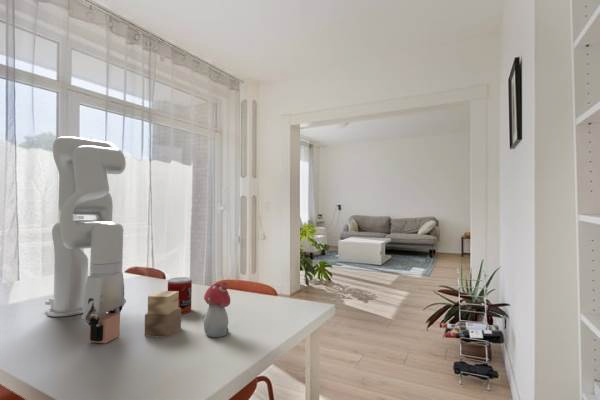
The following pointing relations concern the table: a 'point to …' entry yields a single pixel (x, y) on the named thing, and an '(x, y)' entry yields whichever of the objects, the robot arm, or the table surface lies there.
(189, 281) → the canned food
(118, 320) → the terracotta block
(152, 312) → the oak block
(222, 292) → the decorative ornament
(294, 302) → the table surface
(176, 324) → the walnut base
